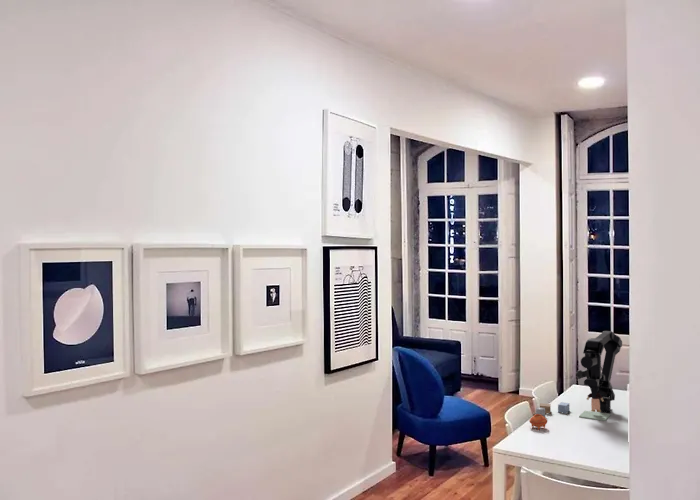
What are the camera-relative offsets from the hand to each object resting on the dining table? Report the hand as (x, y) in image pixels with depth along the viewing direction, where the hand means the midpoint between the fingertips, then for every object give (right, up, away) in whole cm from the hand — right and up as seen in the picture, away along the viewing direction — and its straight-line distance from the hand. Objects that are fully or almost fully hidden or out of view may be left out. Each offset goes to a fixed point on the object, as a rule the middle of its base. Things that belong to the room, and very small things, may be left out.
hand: (594, 397), depth 303 cm
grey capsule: (-27, -10, -1) cm, 28 cm away
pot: (-34, -10, -19) cm, 40 cm away
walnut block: (-22, -10, +7) cm, 25 cm away
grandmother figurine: (0, -7, 0) cm, 7 cm away
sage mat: (0, -9, 0) cm, 9 cm away
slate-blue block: (-12, -10, +9) cm, 18 cm away
